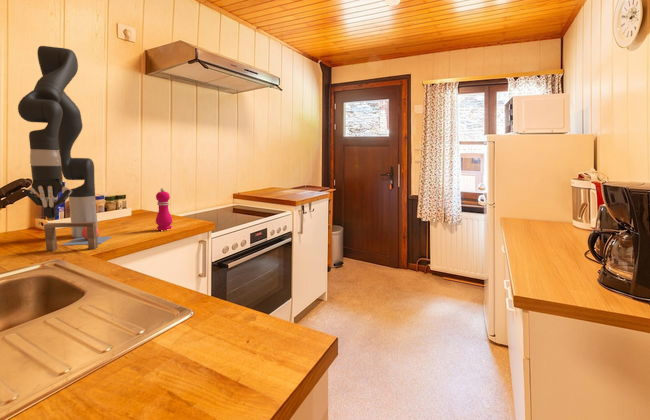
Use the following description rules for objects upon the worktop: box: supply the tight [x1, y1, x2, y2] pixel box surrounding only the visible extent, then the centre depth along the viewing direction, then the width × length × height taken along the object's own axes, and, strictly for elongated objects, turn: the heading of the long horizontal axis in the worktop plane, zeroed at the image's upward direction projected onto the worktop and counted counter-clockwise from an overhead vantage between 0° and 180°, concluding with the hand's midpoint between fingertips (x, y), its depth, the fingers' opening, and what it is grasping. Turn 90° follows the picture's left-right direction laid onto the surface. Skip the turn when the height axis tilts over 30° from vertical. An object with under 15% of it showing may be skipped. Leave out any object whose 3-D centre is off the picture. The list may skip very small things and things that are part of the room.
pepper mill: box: [155, 187, 173, 231], centre depth 161 cm, size 7×7×20 cm
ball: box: [82, 227, 100, 240], centre depth 139 cm, size 6×6×6 cm
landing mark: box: [62, 236, 112, 246], centre depth 138 cm, size 13×13×1 cm
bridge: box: [43, 222, 99, 252], centre depth 124 cm, size 3×15×10 cm, turn 105°
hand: (51, 218), depth 110 cm, fingers closed
